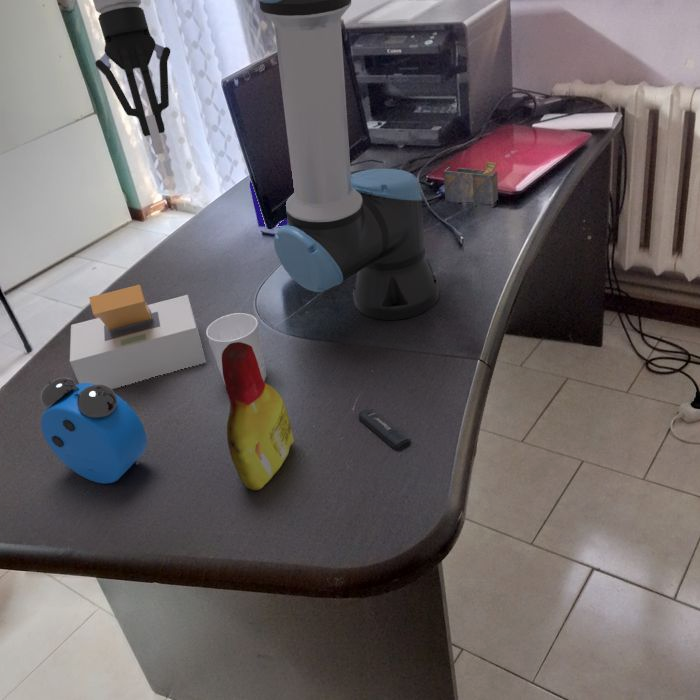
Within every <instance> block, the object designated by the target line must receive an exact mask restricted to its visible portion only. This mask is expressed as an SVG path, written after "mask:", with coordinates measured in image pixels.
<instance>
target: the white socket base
mask: <svg viewBox="0 0 700 700" xmlns="http://www.w3.org/2000/svg"><path fill="white" fill-rule="evenodd" d="M147 305H148V307H149V309H150V310H151V313H152V316H153V319H152V320H148V321H144V322H140V323H136V324H133V325H129V326H125V327H121V328H118V329H114V330H110V331H109V330H108V328H107V327H106V326H105V324H104V323H103V322H102V320H101V319H100V318H96V317H95V318H92V319H89V320H85V321H82V322H78V323H73V324H71V325H70V342H69V344H70V345H69V346H70V347H69V364H70V366H71V368H72V370H73V372H74V374H75V377H76V379H77V382H78V384H80V383H92V384H97V385H104V386H107V387H109V388H110V389H112V390H115V389H118V388H121V386H122V387H126V386H129V385H133V384H136V383H139V382H138V381H140V382H143V381H142V380H144V379H147V380H150V379H149V378H151V377H154V378H156V377H155V376H158V375H161V376H164V375H163V374H165V373H169V374H171V373H170V372H172V373H174V372H173V371H176V372H178V371H177V370H179V371H181V370H180V369H183V370H185V369H184V368H187V369H189V368H188V367H190V368H193V367H192V366H194V367H197V366H200V365H199V364H201V365H203V364H202V363H205V364H207V360H206V356H205V353H204V348H202V347H203V344H202V341H201V336H200V332H199V329H198V324H197V322H196V319H195V316H194V315H195V314H194V312H193V308H192V305H191V302H190V297H189V294H184V295H181V296H177V297H174V298H170V299H165V300H161V301H159V302H154V303H151V304H147ZM196 365H197V366H196ZM165 375H166V374H165ZM158 377H159V376H158ZM151 379H152V378H151ZM144 381H145V380H144ZM135 382H136V383H135ZM132 383H133V384H132ZM125 385H126V386H125Z"/></svg>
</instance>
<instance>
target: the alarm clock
mask: <svg viewBox="0 0 700 700" xmlns="http://www.w3.org/2000/svg"><path fill="white" fill-rule="evenodd" d="M40 402H41V404H42V406H43V407H44V408H46V409H45V410H44V411H43V413H42V415H41V419H40V427H41V431H42V433H43V434H42V435H43V436H44V439H45V441H46V443H47V445H48V446H49V448H50V449H51V450H52V451H53V453H54V454H55V455H56V457H57V458H59V460H60V461H61V462H63V464H64V465H66V466H67V467H68V468H69V469H71V470H72V471H73V472H75V473H76V474H77V475H79V476H81V477H82V478H85V479H86V480H88V481H91V482H95V483H98V484H112V483H115V482H117V481H118V480H120V479H121V477H122V476H123V475H124V474H126V472H127V471H128V470H129V469H131V467H132V466H133V464H135V466H137V465H138V464H139V465H140V463H139V461H138V460H139V458H140V457H142V455H143V454H144V453H145V451H146V449H147V444H148V438H147V433H146V430H145V426H144V424H143V422H142V421H141V419H140V418H139V416H138V415H137V413H136V412H135V410H134V409H133V408H132V407H131V406H130V404H129V403H127V402H126V401H125V400H124V399H123V398H122V397H120V396H119V395H117V394H116V393H115V391H114V389H110V388H109V387H107V386H104V385H97V384H92V383H80V384H79V383H77V382H75V381H74V380H73V379H72V378H70V377H57V378H54V379H53V380H50V379H48V380H47V384H46V385H45V386H44V387H43V388H42V390H41V393H40ZM139 465H138V466H139Z"/></svg>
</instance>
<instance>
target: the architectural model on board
mask: <svg viewBox="0 0 700 700" xmlns="http://www.w3.org/2000/svg"><path fill="white" fill-rule="evenodd" d="M496 167H497V160H496V162H490V161H489V160H487V161H486V163H485V170H484V169H476V168H475V169H474V168H467V167H466V168H464V167H457V171H451V167H450V166H448V167H447V168H446V169H445V170H443V184H444V185H443V186H444V200H449V201H456V202H473V203H484V204H492V205H493V204H494V203H495V202H496V201H497V200H498V201H499V187H498V183H499V182H498V180H499V178H498V171H497V170H496V171H494V170H495V168H496ZM497 189H498V191H497Z"/></svg>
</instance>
